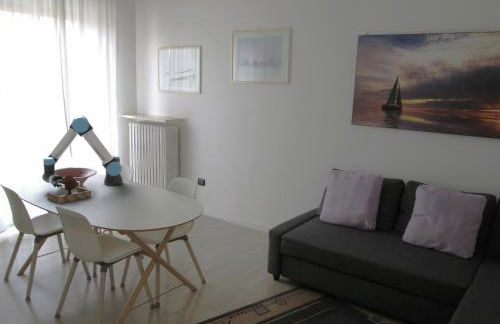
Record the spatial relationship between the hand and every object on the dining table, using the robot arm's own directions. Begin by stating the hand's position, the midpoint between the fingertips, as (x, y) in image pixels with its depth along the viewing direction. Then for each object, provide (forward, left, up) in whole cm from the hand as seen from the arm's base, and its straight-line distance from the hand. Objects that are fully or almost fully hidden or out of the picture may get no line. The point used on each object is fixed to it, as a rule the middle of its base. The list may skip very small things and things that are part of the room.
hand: (72, 185), depth 295 cm
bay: (0, -5, -11) cm, 12 cm away
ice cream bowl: (0, -4, -9) cm, 10 cm away
